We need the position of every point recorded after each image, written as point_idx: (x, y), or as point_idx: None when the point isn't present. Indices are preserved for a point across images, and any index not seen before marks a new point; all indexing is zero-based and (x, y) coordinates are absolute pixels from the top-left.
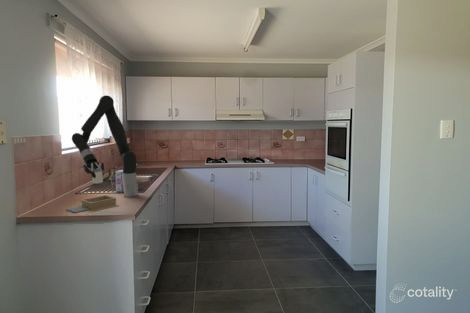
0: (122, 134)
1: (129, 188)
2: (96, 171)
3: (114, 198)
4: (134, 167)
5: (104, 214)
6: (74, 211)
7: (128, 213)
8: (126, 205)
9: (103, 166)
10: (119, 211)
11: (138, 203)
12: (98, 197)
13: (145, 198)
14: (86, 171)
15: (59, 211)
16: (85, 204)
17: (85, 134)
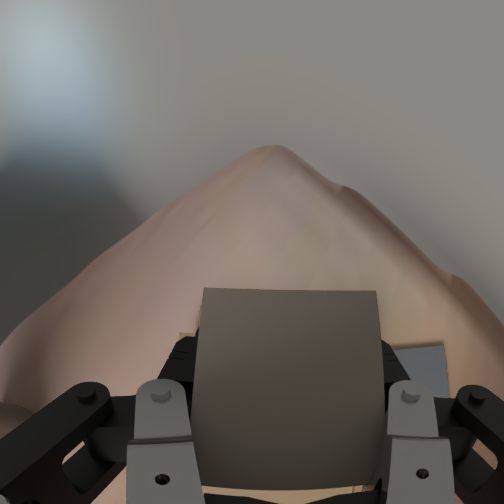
0: None
1: (2, 414)
2: (352, 291)
3: (189, 334)
4: None
5: (344, 216)
6: (440, 361)
7: (264, 162)
8: (173, 276)
9: (24, 431)
10: (270, 208)
11: (115, 261)
12: None
13: (30, 317)
14: (484, 464)
15: (476, 440)
16: None
17: None
